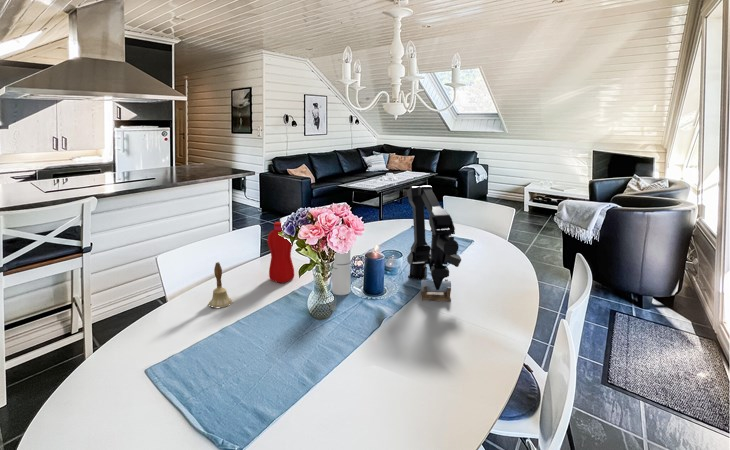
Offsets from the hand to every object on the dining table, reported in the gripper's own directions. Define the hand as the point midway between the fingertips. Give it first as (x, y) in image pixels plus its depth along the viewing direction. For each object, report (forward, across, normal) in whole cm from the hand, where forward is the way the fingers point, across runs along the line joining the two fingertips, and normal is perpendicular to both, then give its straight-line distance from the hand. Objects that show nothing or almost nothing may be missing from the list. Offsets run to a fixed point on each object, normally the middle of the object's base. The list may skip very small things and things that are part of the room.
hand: (436, 284), depth 149 cm
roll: (+3, 0, 0) cm, 3 cm away
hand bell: (+5, -13, +80) cm, 81 cm away
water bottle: (+5, +12, +63) cm, 64 cm away
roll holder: (+5, 0, 0) cm, 5 cm away
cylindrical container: (+5, +1, +37) cm, 37 cm away
